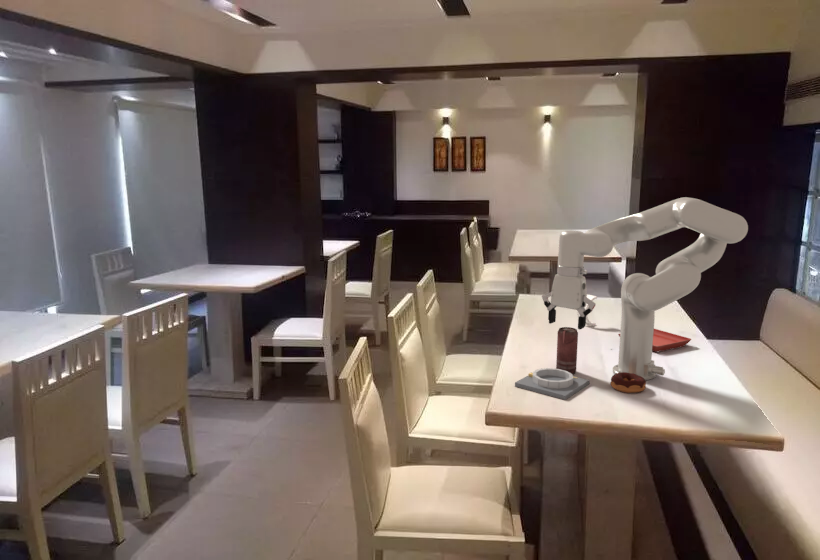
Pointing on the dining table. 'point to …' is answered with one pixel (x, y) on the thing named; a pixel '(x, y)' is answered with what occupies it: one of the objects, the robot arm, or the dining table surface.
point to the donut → (628, 382)
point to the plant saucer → (667, 341)
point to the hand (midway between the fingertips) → (566, 325)
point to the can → (567, 349)
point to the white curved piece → (586, 309)
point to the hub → (552, 382)
